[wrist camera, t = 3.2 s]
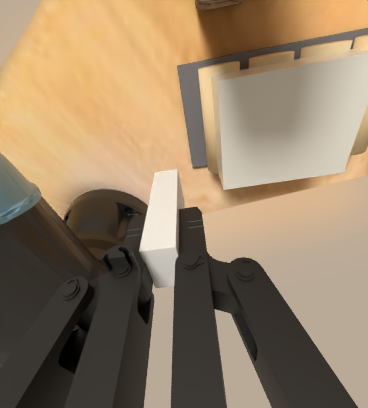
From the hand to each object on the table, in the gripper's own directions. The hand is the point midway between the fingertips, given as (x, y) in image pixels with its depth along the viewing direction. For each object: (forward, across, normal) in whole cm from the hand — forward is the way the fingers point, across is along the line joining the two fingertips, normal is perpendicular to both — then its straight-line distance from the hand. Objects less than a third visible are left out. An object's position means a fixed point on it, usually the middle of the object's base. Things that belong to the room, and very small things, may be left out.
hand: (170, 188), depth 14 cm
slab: (+10, +10, 0) cm, 15 cm away
